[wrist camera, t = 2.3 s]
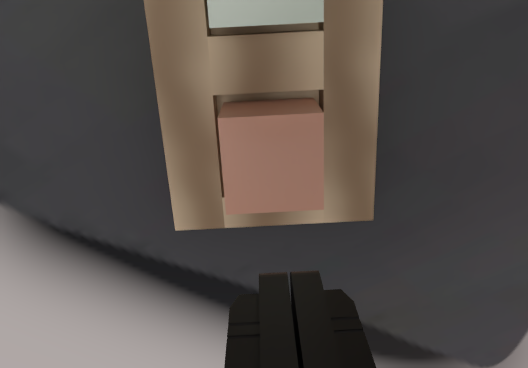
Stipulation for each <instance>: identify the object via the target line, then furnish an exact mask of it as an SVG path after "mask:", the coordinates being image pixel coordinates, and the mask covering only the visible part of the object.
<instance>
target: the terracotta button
mask: <svg viewBox="0 0 528 368" xmlns="http://www.w3.org/2000/svg"><path fill="white" fill-rule="evenodd" d="M218 130H219V141H220V152H221V163H222V175H223V186H224V197H225V208H226V215H232V214H251V213H270V212H289V211H308V210H324V112H323V111H322V109H321V108H320V107H319V105H318V104H317V102H316V101H315V99H314V98H297V99H278V100H259V101H240V102H223V105H222V107H221V110H220V113H219V116H218Z"/></svg>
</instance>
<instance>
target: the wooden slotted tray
mask: <svg viewBox="0 0 528 368" xmlns="http://www.w3.org/2000/svg"><path fill="white" fill-rule="evenodd" d="M144 5H145V13H146V20H147V27H148V35H149V42H150V49H151V57H152V64H153V71H154V78H155V86H156V93H157V100H158V108H159V115H160V122H161V130H162V137H163V144H164V151H165V159H166V166H167V173H168V181H169V188H170V195H171V203H172V210H173V217H174V225H175V231H177V230H196V229H215V228H235V227H254V226H273V225H292V224H311V223H330V222H349V221H368V220H373V215H374V192H375V170H376V148H377V125H378V103H379V80H380V58H381V36H382V13H383V0H324V22H316V23H297V24H279V25H260V26H241V27H222V28H209V17H208V6H207V0H144ZM297 98H314V99H315V101H316V102H317V104H318V105H319V107H320V108H321V109H322V111H323V112H324V210H308V211H289V212H270V213H251V214H232V215H226V208H225V197H224V186H223V175H222V163H221V152H220V141H219V130H218V116H219V113H220V110H221V107H222V105H223V102H240V101H259V100H278V99H297Z"/></svg>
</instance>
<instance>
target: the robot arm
mask: <svg viewBox="0 0 528 368" xmlns="http://www.w3.org/2000/svg"><path fill="white" fill-rule="evenodd" d="M290 287H291V301H290V293H289V285H288V277H287V272H283V273H264V274H259V294H246V295H245V294H244V295H239V296H238V297H237V299H236V300H235V302H234V303H233V304H232V306H231V307H230V311H229V323H228V324H229V326H228V335H227V337H228V338H227V345H226V357H225V368H376V366H375V363H374V360H373V357H372V354H371V351H370V348H369V345H368V342H367V340H366V336H365V333H364V332H363V327H362V325H361V322H360V319H359V316H358V313H357V310H356V307H355V304H354V301H353V300H352V299H351V298H349V297H348V296H347V295H346V294H345V293H344V292H343V291H342V290H341V289H337V290H324V289H323V285H322V281H321V277H320V273H319V271H301V272H290Z"/></svg>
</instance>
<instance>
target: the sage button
mask: <svg viewBox="0 0 528 368" xmlns="http://www.w3.org/2000/svg"><path fill="white" fill-rule="evenodd" d="M207 6H208V17H209V28H222V27H241V26H260V25H279V24H297V23H316V22H324V0H207Z"/></svg>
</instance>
